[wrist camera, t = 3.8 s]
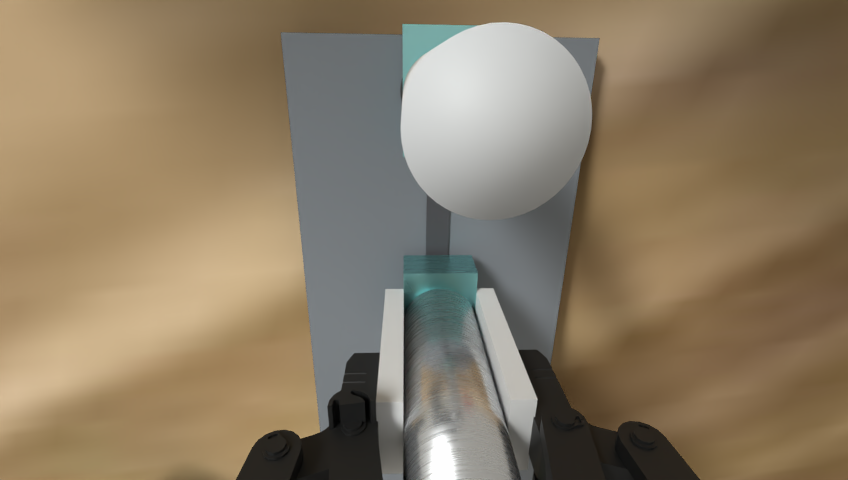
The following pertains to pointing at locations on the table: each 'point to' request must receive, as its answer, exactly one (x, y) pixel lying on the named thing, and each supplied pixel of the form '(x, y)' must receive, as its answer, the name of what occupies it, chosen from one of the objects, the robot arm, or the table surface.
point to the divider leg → (449, 378)
